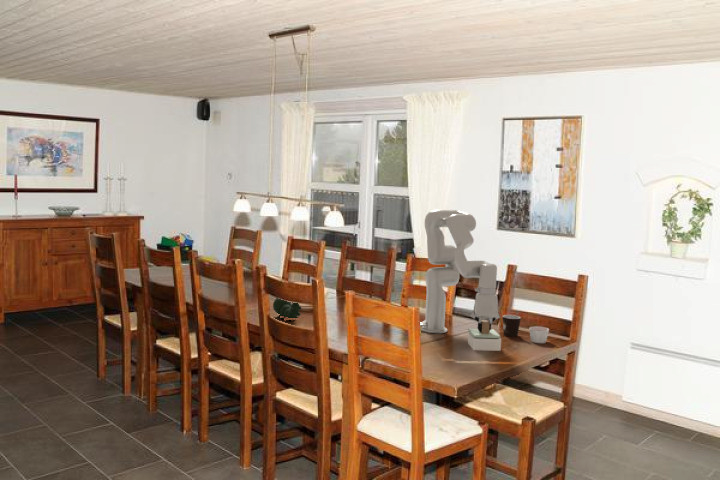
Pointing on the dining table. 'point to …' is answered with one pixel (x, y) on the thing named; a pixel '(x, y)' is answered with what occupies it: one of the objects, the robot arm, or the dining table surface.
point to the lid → (484, 331)
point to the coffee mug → (511, 325)
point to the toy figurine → (286, 308)
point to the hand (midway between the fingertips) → (484, 331)
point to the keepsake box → (484, 343)
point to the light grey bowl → (538, 334)
